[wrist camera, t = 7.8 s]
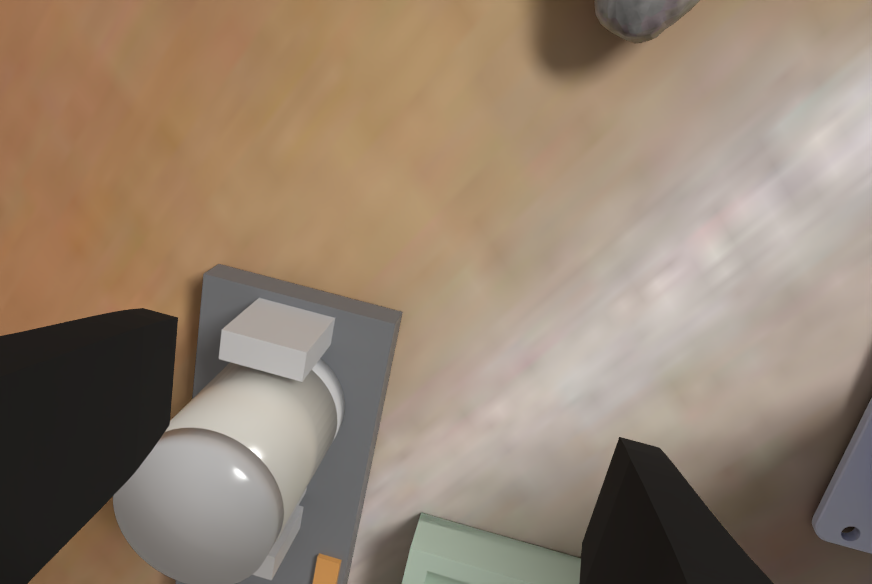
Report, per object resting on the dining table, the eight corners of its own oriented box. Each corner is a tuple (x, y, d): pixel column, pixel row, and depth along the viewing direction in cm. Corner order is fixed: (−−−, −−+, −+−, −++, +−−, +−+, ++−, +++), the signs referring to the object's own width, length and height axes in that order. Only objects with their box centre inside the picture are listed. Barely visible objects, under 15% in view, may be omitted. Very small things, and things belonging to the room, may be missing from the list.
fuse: (354, 360, 22) (281, 472, 16) (334, 468, 23) (261, 606, 18) (229, 327, 22) (116, 426, 16) (218, 436, 24) (110, 561, 18)
